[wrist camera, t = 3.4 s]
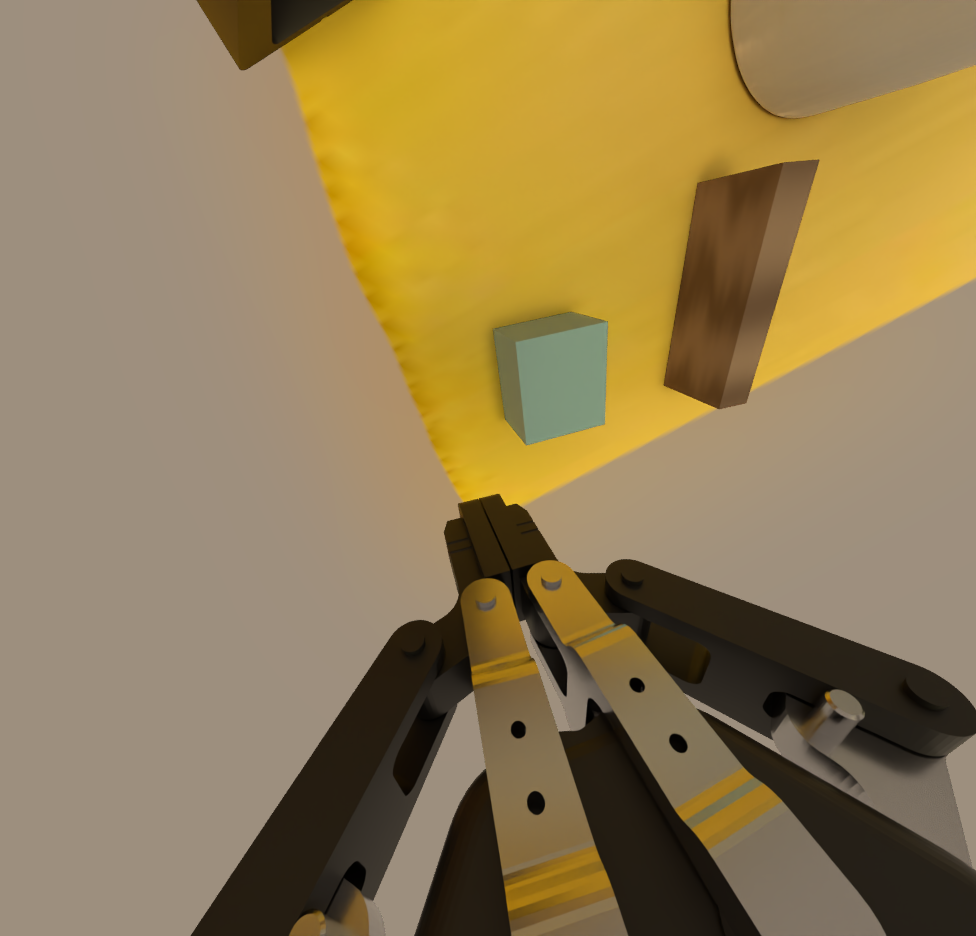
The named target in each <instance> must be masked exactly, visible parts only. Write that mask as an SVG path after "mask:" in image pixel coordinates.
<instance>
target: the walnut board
mask: <svg viewBox="0 0 976 936" xmlns="http://www.w3.org/2000/svg"><path fill="white" fill-rule="evenodd" d="M818 163H819V160H808V161H796V162H784V163H779V164H775V165H771V166H767V167H763V168H759V169H754V170H750V171H746V172H742V173H738V174H734V175H729V176H725V177H721V178H717V179H713V180H709V181H705V182H700V183H698V185H697V191H696V197H695V203H694V209H693V215H692V221H691V227H690V233H689V239H688V245H687V251H686V257H685V263H684V269H683V275H682V281H681V287H680V293H679V299H678V305H677V311H676V316H675V322H674V328H673V334H672V340H671V346H670V352H669V358H668V364H667V370H666V376H665V382H664V386H666V387H669V388H671V389H673V390H676V391H678V392H680V393H683V394H685V395H687V396H690V397H692V398H694V399H697V400H699V401H701V402H703V403H706V404H708V405H710V406H713V407H715V408H717V409H723V408H726V407H731V406H736V405H740V404H745V403H746V402H747V399H748V396H749V392H750V389H751V386H752V382H753V379H754V376H755V372H756V369H757V366H758V362H759V359H760V356H761V352H762V349H763V346H764V343H765V339H766V336H767V333H768V329H769V326H770V323H771V319H772V316H773V313H774V309H775V306H776V303H777V299H778V296H779V293H780V289H781V286H782V283H783V279H784V276H785V273H786V269H787V266H788V263H789V259H790V256H791V253H792V249H793V246H794V243H795V239H796V236H797V233H798V230H799V226H800V223H801V220H802V216H803V213H804V210H805V206H806V203H807V200H808V196H809V193H810V190H811V186H812V183H813V180H814V176H815V173H816V170H817V166H818Z"/></svg>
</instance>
